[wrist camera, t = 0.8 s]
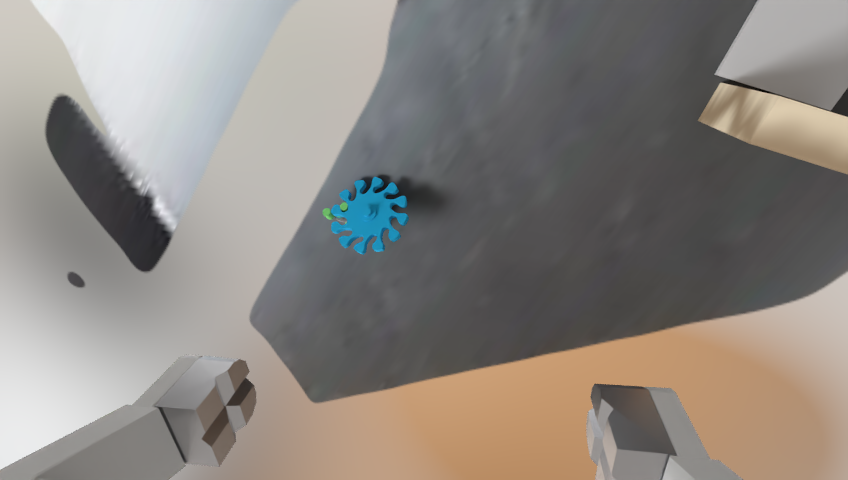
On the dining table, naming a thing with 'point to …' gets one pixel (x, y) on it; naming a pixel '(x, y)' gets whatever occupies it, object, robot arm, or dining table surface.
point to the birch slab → (780, 125)
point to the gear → (367, 215)
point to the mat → (793, 50)
